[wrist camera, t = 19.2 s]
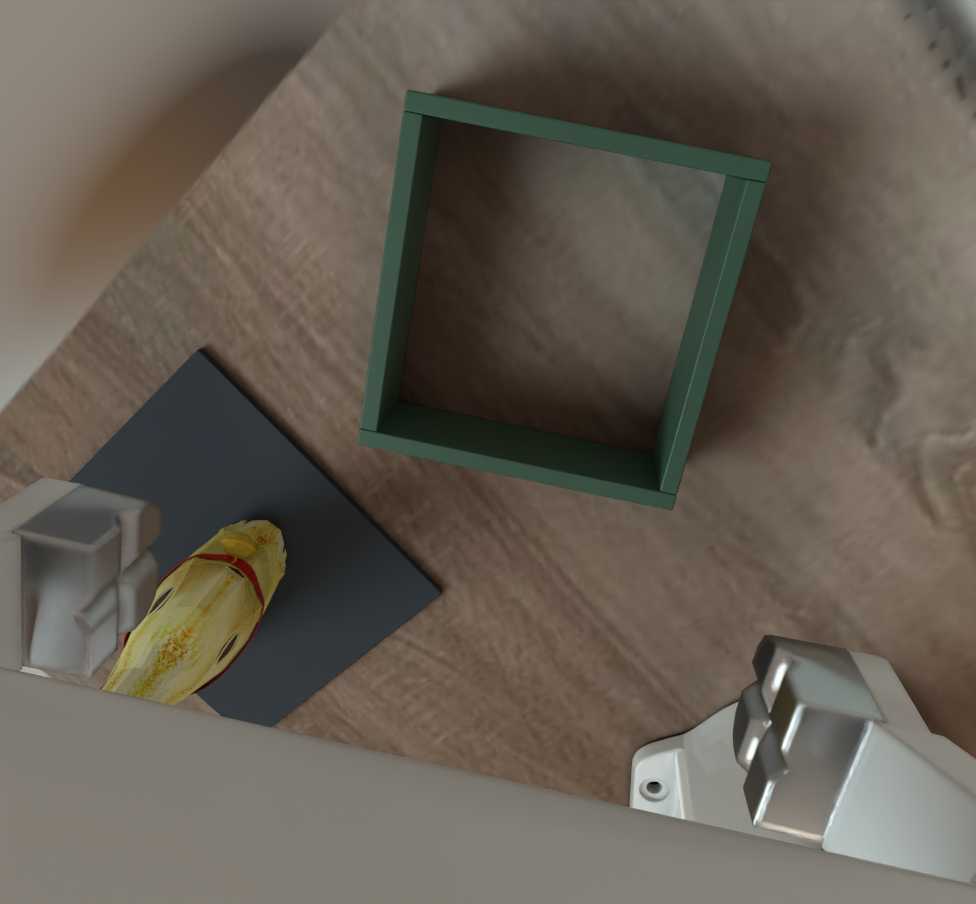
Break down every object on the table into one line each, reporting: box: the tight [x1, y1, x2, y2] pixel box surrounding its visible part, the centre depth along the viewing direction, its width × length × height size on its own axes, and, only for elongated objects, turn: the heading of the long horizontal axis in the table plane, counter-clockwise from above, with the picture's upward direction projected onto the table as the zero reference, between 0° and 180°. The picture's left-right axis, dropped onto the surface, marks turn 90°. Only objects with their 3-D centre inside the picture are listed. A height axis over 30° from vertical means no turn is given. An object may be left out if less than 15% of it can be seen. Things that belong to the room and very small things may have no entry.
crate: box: [358, 90, 772, 510], centre depth 38 cm, size 15×15×5 cm
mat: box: [69, 349, 442, 727], centre depth 48 cm, size 18×16×1 cm
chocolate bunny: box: [101, 520, 287, 706], centre depth 40 cm, size 7×11×15 cm, turn 141°
